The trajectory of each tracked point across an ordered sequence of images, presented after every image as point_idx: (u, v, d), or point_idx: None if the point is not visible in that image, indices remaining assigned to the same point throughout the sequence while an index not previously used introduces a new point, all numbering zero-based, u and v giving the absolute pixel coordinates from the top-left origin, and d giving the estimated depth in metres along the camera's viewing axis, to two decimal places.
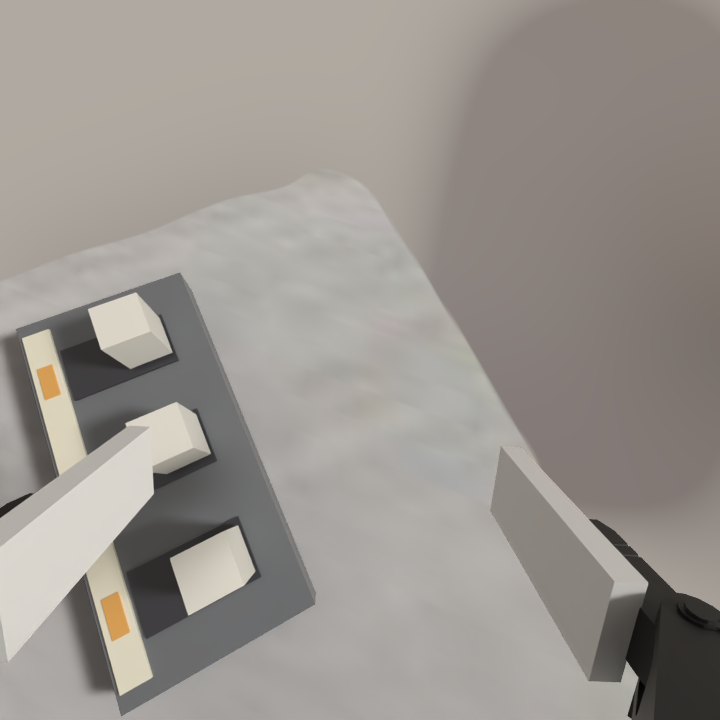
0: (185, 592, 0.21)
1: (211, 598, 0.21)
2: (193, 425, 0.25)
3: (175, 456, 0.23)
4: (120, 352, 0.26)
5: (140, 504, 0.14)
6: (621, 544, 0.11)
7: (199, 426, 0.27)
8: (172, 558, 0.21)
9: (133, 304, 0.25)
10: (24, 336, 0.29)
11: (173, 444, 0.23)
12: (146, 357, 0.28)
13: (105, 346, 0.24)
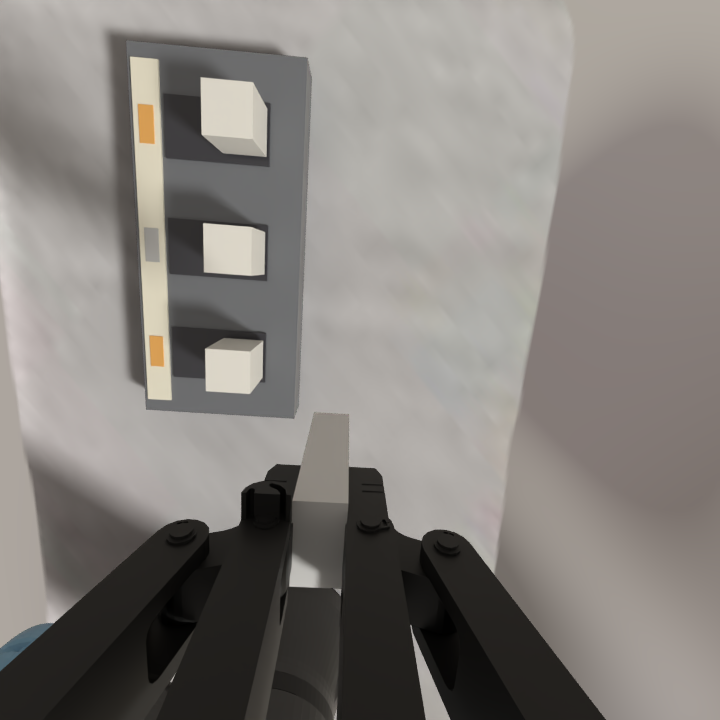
0: (208, 376, 0.27)
1: (224, 389, 0.27)
2: (258, 248, 0.27)
3: (234, 274, 0.26)
4: (218, 141, 0.25)
5: None
6: (378, 485, 0.13)
7: (263, 246, 0.28)
8: (207, 349, 0.26)
9: (246, 96, 0.23)
10: (132, 54, 0.26)
11: (236, 264, 0.25)
12: (240, 152, 0.27)
13: (206, 133, 0.23)
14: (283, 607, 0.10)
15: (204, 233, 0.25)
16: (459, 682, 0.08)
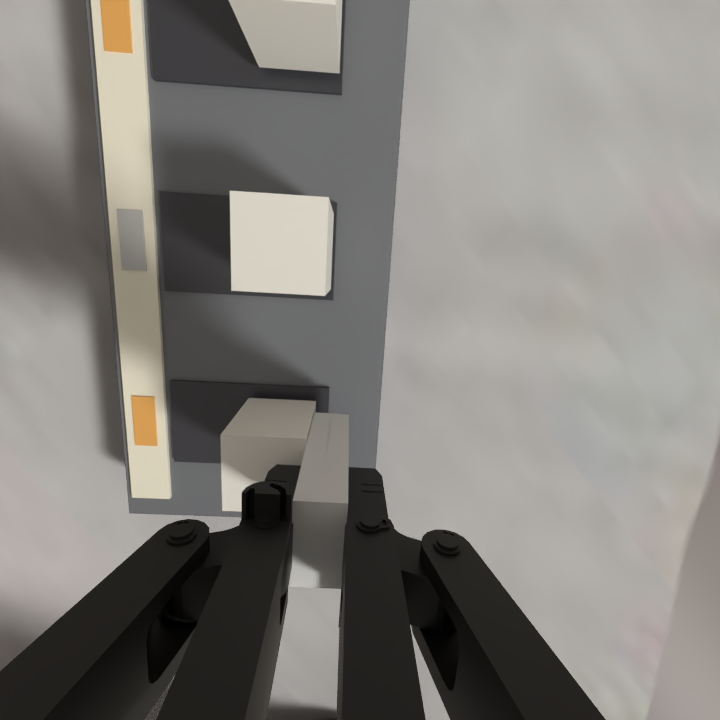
0: (227, 484, 0.14)
1: None
2: (330, 242, 0.14)
3: None
4: (258, 23, 0.12)
5: None
6: (378, 485, 0.13)
7: (332, 239, 0.16)
8: (224, 437, 0.14)
9: None
10: None
11: (296, 273, 0.13)
12: (295, 59, 0.14)
13: None
14: (283, 607, 0.10)
15: (232, 212, 0.12)
16: (459, 682, 0.08)
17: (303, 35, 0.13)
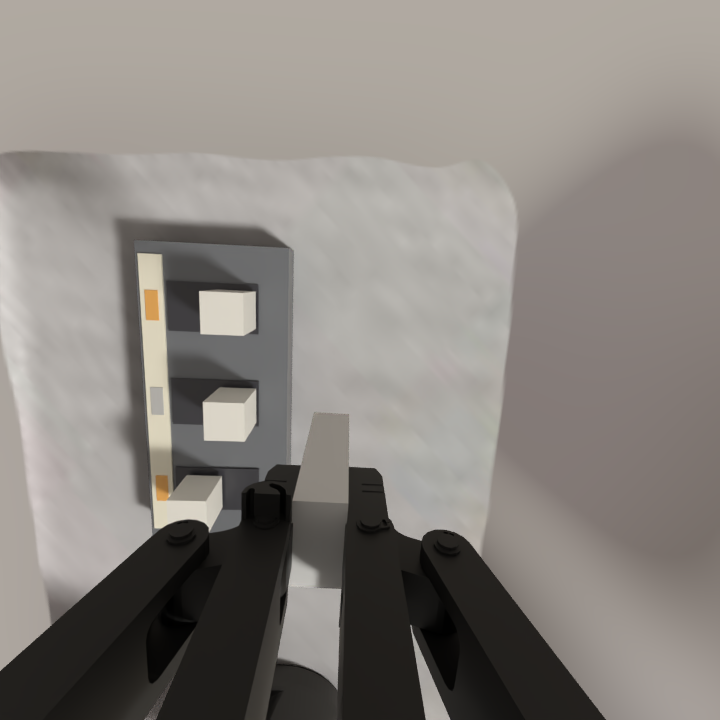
0: None
1: None
2: (250, 410, 0.31)
3: None
4: None
5: None
6: (378, 485, 0.13)
7: (255, 401, 0.33)
8: (168, 501, 0.30)
9: (237, 304, 0.28)
10: (139, 251, 0.31)
11: (231, 432, 0.29)
12: None
13: (204, 332, 0.28)
14: (283, 607, 0.10)
15: (204, 410, 0.29)
16: (459, 682, 0.08)
17: None
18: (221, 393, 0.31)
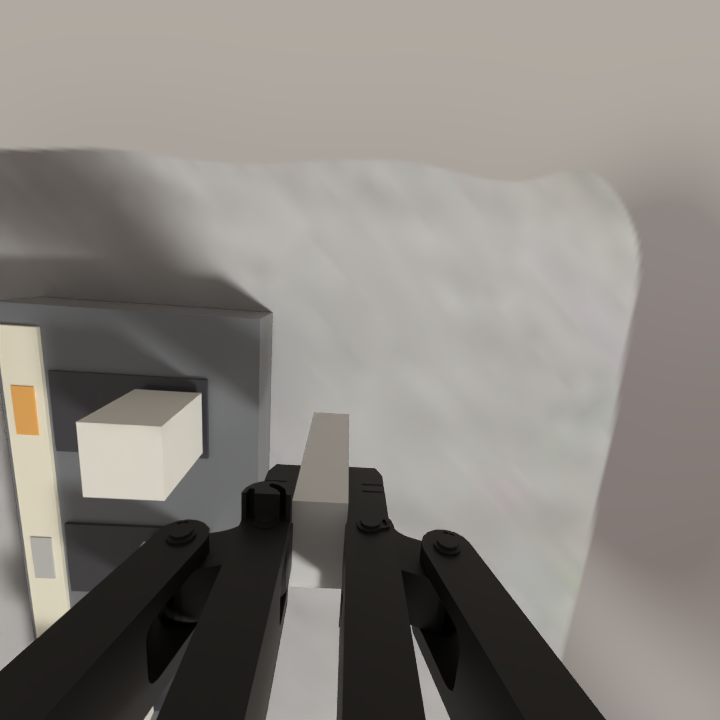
0: None
1: None
2: None
3: None
4: None
5: None
6: (378, 485, 0.13)
7: None
8: None
9: (151, 446, 0.14)
10: None
11: None
12: None
13: (90, 495, 0.15)
14: (283, 607, 0.10)
15: None
16: (459, 682, 0.08)
17: None
18: None
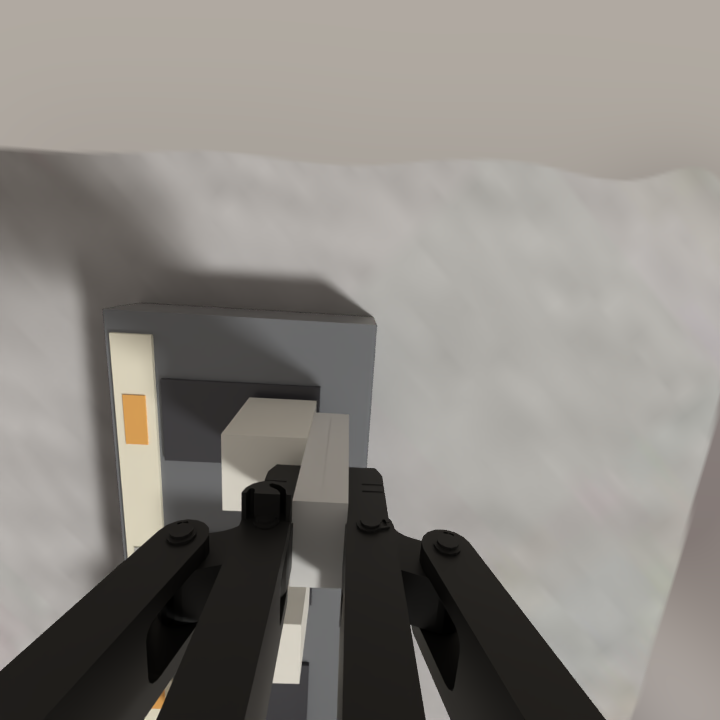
0: None
1: None
2: (306, 608, 0.18)
3: (273, 678, 0.17)
4: None
5: None
6: (378, 485, 0.13)
7: None
8: None
9: (295, 458, 0.14)
10: (113, 328, 0.17)
11: (276, 670, 0.16)
12: None
13: (229, 508, 0.14)
14: (283, 607, 0.10)
15: None
16: (459, 682, 0.08)
17: None
18: None
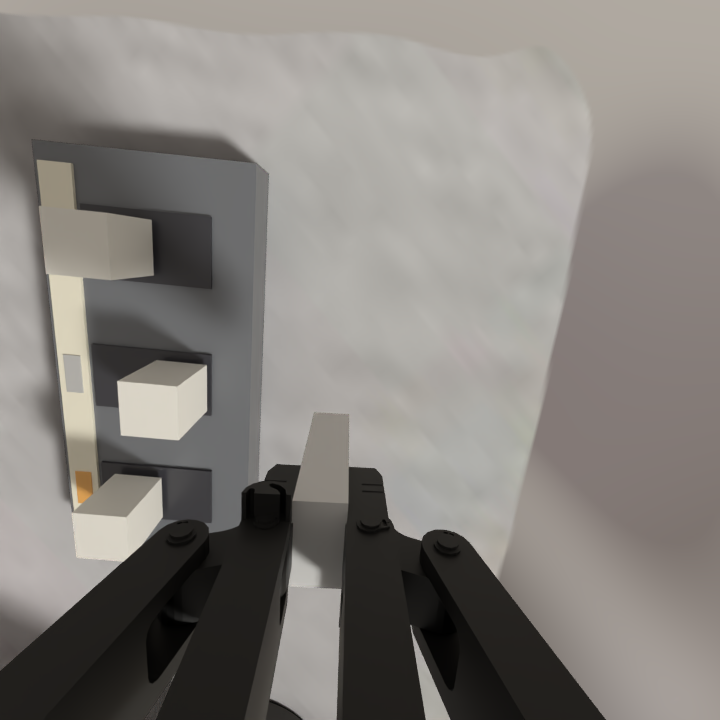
0: (78, 542, 0.22)
1: (99, 556, 0.23)
2: (193, 395, 0.22)
3: None
4: None
5: None
6: (378, 485, 0.13)
7: (204, 382, 0.24)
8: (74, 514, 0.22)
9: (98, 230, 0.18)
10: (40, 157, 0.21)
11: (160, 427, 0.21)
12: None
13: (51, 272, 0.18)
14: (283, 607, 0.10)
15: (119, 392, 0.20)
16: (459, 682, 0.08)
17: None
18: (152, 369, 0.22)
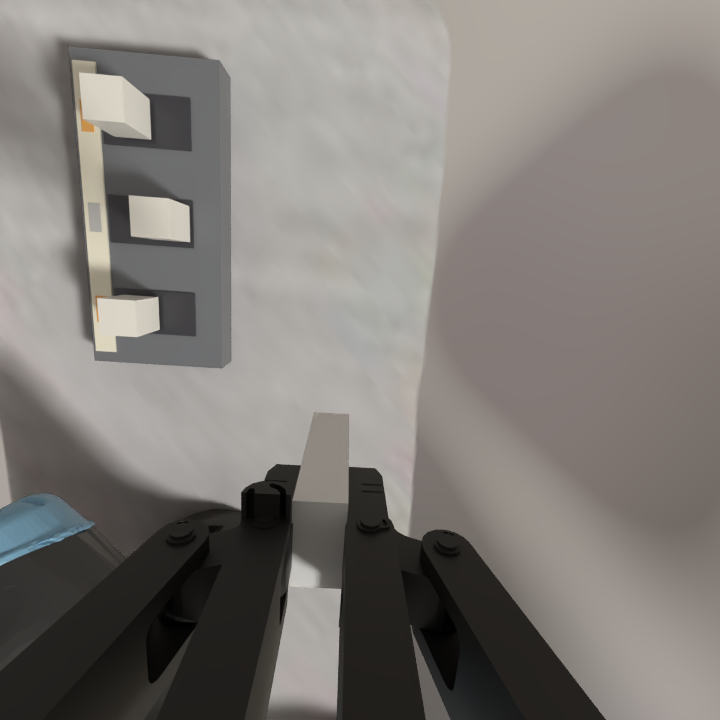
0: (101, 321, 0.32)
1: (115, 333, 0.33)
2: (180, 218, 0.32)
3: (156, 238, 0.31)
4: (101, 125, 0.30)
5: None
6: (378, 485, 0.13)
7: (187, 217, 0.34)
8: (98, 299, 0.32)
9: (117, 88, 0.28)
10: (74, 58, 0.32)
11: (157, 229, 0.31)
12: (127, 135, 0.32)
13: (86, 118, 0.29)
14: (283, 607, 0.10)
15: (130, 203, 0.30)
16: (459, 682, 0.08)
17: (122, 129, 0.31)
18: None
